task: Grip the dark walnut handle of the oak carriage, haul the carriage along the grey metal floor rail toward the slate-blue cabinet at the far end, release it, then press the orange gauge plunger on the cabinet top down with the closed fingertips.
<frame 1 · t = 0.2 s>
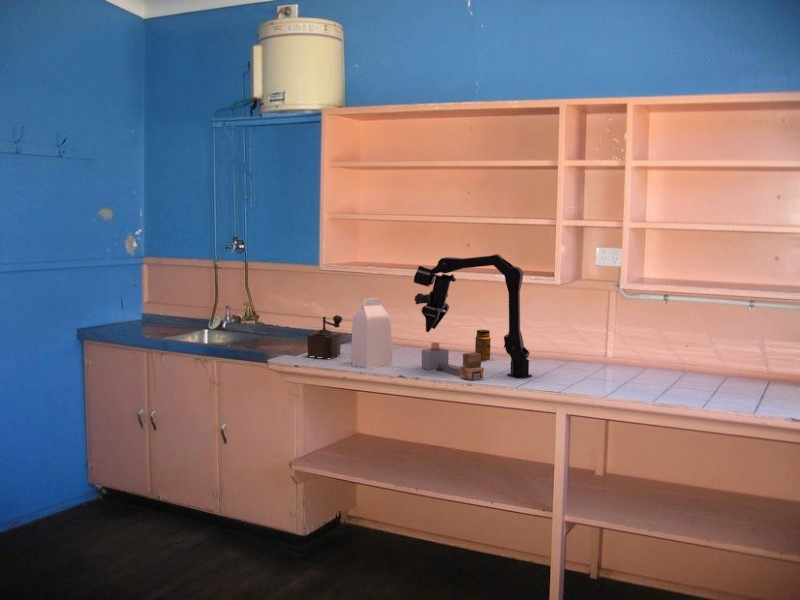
hand: (430, 330, 301), 15 cm above the counter, tool pointing down, fingers open, 9 cm apart
cabinet: (434, 367, 307), on the counter
carriage: (471, 365, 287), point 5 cm above the counter, slide at 0.0 cm
manual coffee grinder: (329, 357, 329), on the counter
plunger: (435, 347, 306), point 8 cm above the counter, slide at 1.5 cm
milk: (371, 365, 313), on the counter
rail: (458, 374, 294), on the counter
condiment: (480, 360, 325), on the counter
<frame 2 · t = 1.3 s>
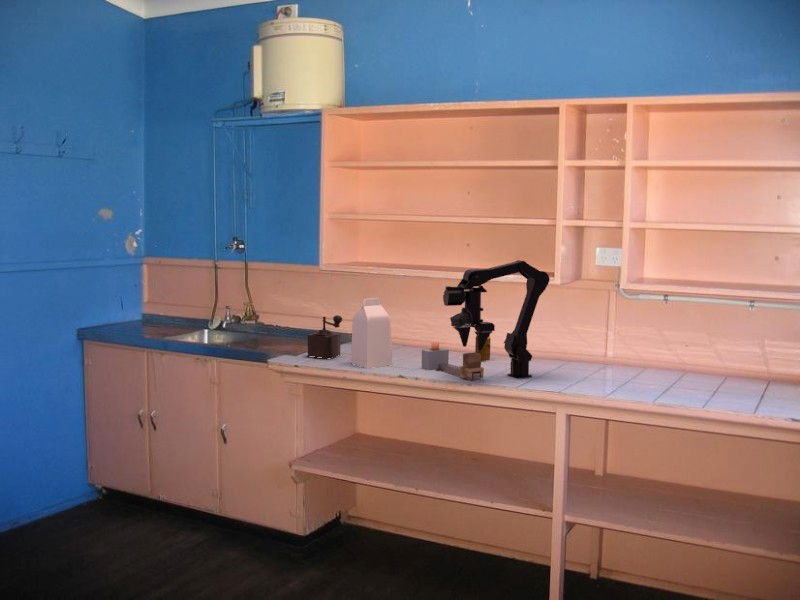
hand: (472, 348, 286), 11 cm above the counter, tool pointing down, fingers open, 9 cm apart
nothing on the counter moved.
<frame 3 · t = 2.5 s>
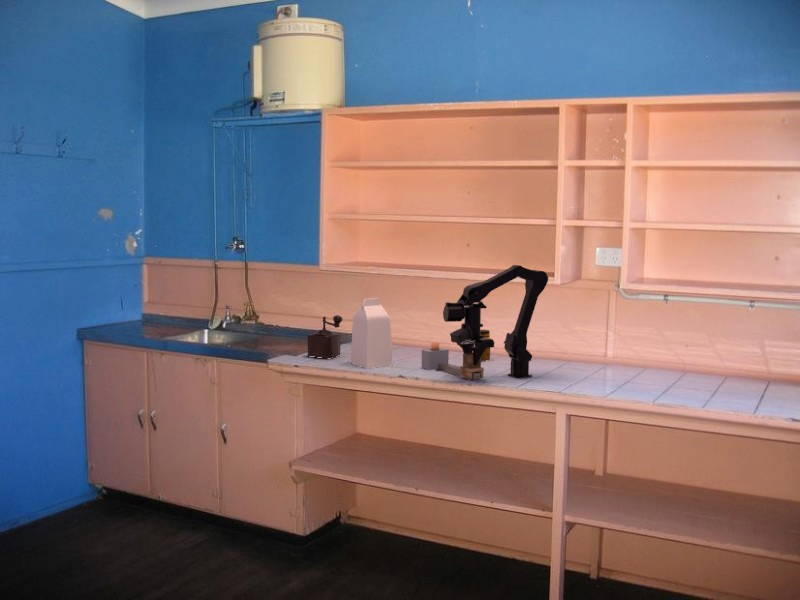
hand: (471, 364, 287), 5 cm above the counter, tool pointing down, fingers closed on carriage, 4 cm apart
carriage: (471, 365, 287), point 5 cm above the counter, slide at 0.0 cm, touching gripper
everything else where it was.
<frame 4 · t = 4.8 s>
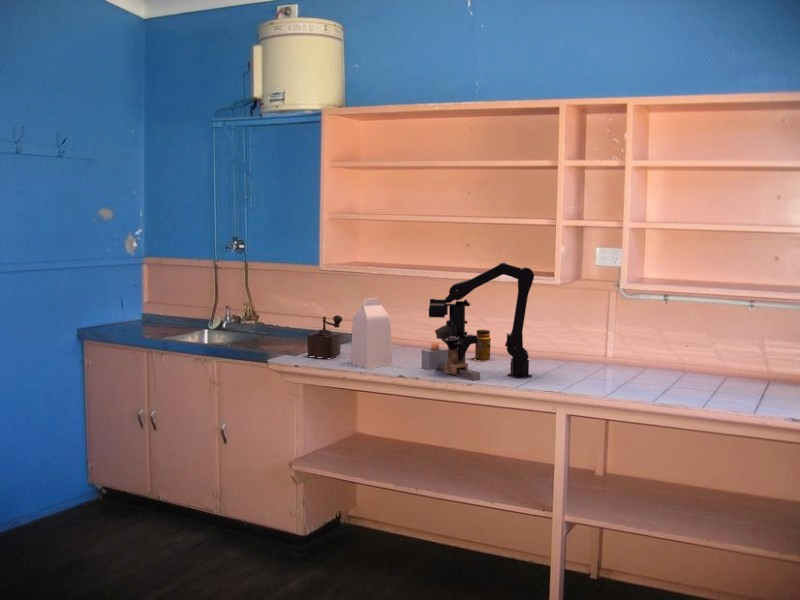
hand: (456, 360, 295), 5 cm above the counter, tool pointing down, fingers closed on carriage, 4 cm apart
carriage: (456, 361, 295), point 5 cm above the counter, slide at 9.4 cm, touching gripper
everything else where it was.
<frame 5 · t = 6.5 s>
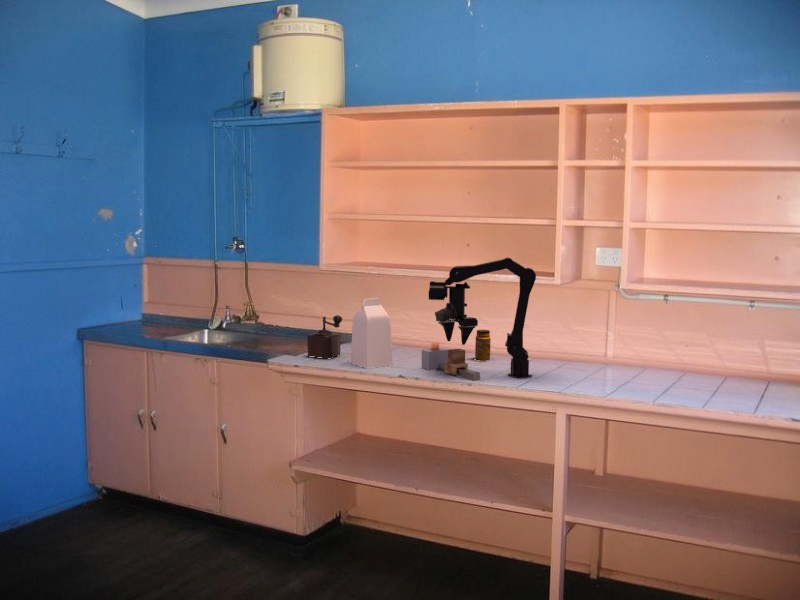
hand: (456, 342, 294), 12 cm above the counter, tool pointing down, fingers open, 9 cm apart
carriage: (456, 361, 295), point 5 cm above the counter, slide at 9.4 cm
everything else where it was.
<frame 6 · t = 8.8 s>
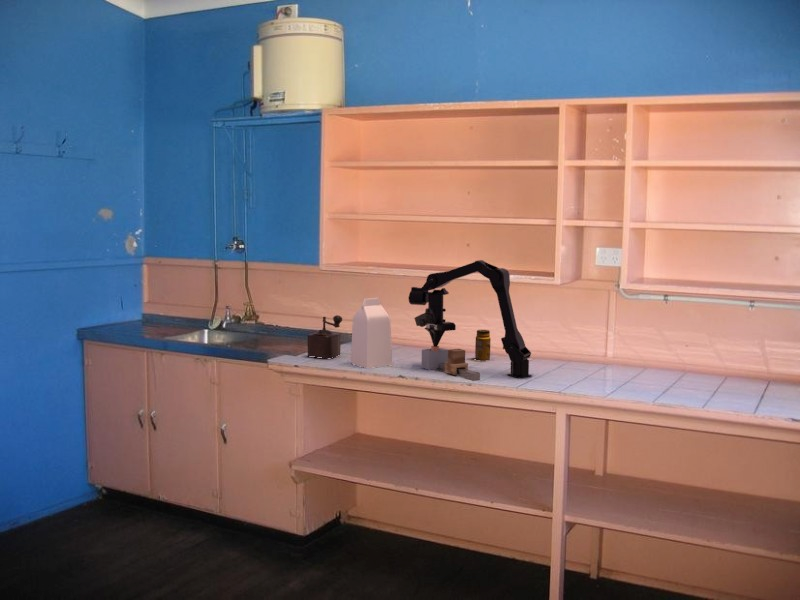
hand: (435, 346, 306), 8 cm above the counter, tool pointing down, fingers closed, pressing on plunger
plunger: (435, 350, 307), point 7 cm above the counter, slide at 0.3 cm, touching gripper
everything else where it was.
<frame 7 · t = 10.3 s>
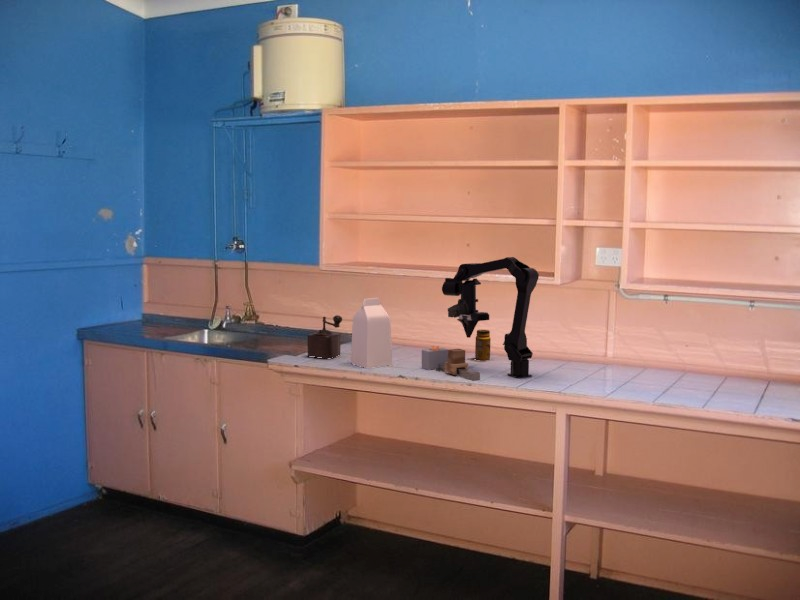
hand: (468, 337, 305), 12 cm above the counter, tool pointing down, fingers closed
plunger: (435, 350, 307), point 7 cm above the counter, slide at 0.2 cm
everything else where it was.
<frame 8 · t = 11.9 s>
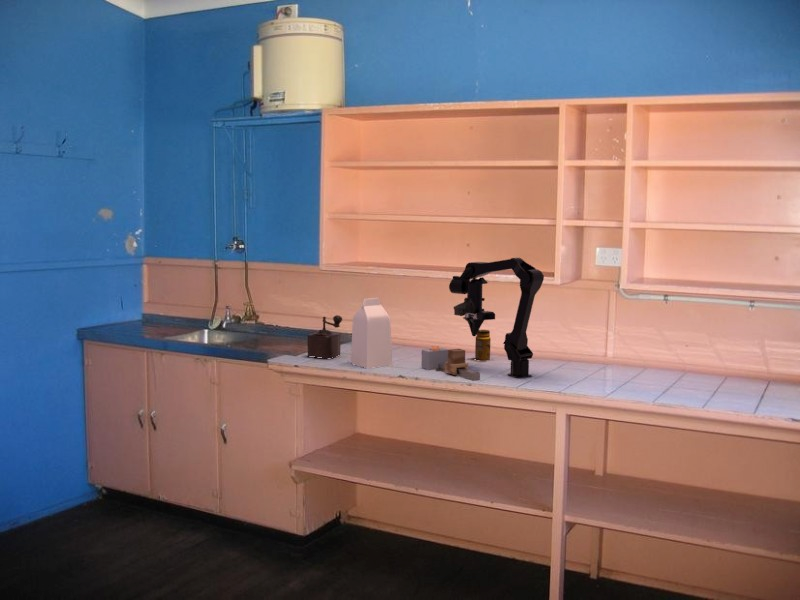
hand: (474, 336, 305), 13 cm above the counter, tool pointing down, fingers closed
nothing on the counter moved.
at the end: carriage slide at 9.4 cm; plunger slide at 0.2 cm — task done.
